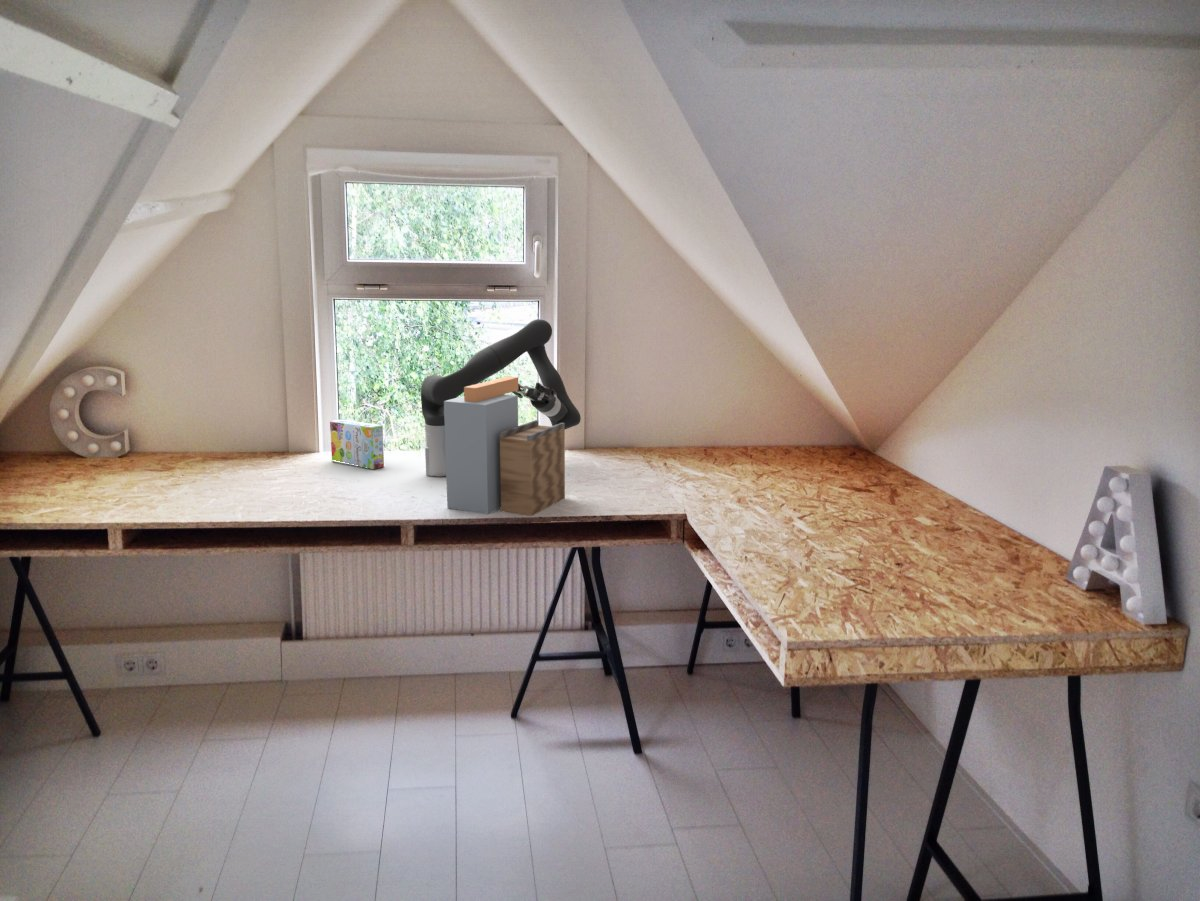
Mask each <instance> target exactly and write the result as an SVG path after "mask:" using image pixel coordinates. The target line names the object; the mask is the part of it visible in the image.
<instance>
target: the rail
mask: <svg viewBox="0 0 1200 901" xmlns="http://www.w3.org/2000/svg"><path fill="white" fill-rule="evenodd" d="M518 383H519V377H518V376H503V377H499V378H496V379H491V380H487V381H482V382H479V383H478V384H475V385H471V386H467V387H464V392H463V396H464V401H471V402H478V401H481V400H485V399H489V398H492V397H496V396H499V395H503V394H505V395H508V394H510V393H512V392H514V391H517V390H518Z"/></svg>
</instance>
